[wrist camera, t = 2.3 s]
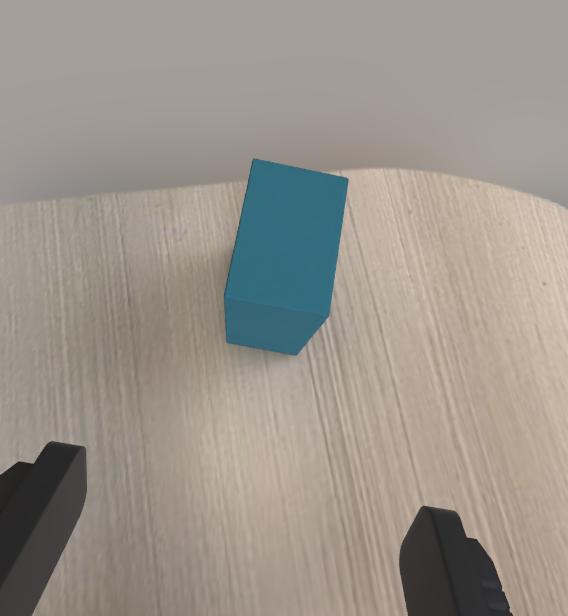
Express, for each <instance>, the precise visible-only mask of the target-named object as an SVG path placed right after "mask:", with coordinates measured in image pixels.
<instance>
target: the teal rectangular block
mask: <svg viewBox="0 0 568 616" xmlns="http://www.w3.org/2000/svg"><path fill="white" fill-rule="evenodd" d="M347 187H348V178H345V177H340V176H335V175H331V174H326V173H321V172H316V171H312V170H307V169H302V168H297V167H292V166H287V165H283V164H278V163H273V162H269V161H264V160H259V159H253V161H252V166H251V170H250V175H249V180H248V185H247V189H246V194H245V199H244V203H243V208H242V213H241V218H240V222H239V227H238V232H237V236H236V241H235V246H234V251H233V255H232V260H231V265H230V270H229V274H228V279H227V284H226V288H225V293H224V305H225V322H226V340H227V343H232V344H237V345H242V346H248V347H253V348H259V349H264V350H270V351H275V352H280V353H286V354H291V355H297V354H298V353H299V352H300V350H301V349H302V348H303V347H304V346H305V344H306V343H307V342H308V341H309V340H310V338H311V337H312V336H313V335H314V333H315V332H316V331H317V330H318V329H319V327H320V326H321V325H322V324H323V323H324V321H325V320H326V319H327V318H328V317H329V313H330V306H331V299H332V292H333V285H334V278H335V271H336V264H337V257H338V250H339V243H340V236H341V229H342V222H343V215H344V208H345V201H346V194H347Z"/></svg>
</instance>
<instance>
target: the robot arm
mask: <svg viewBox="0 0 568 616" xmlns="http://www.w3.org/2000/svg"><path fill="white" fill-rule="evenodd" d="M86 493H87V471H86V448H85V447H83V446H78V445H72V444H66V443H60V442H54V441H51V442H49V443H48V444H47V445H46V446H45V447H44V449H43V450H42V452H41V453H40V455H39V456H38V458H37V459H36V461H35V463H34V464H31V463H25V462H17V463H16V464H15V465H13V466H12V467H11V468H9V469H8V470H6V471H5V472H4V473H2V474H1V475H0V616H32V614H33V612H34V610H35V608H36V606H37V604H38V601H39V599H40V597H41V595H42V593H43V591H44V589H45V587H46V585H47V583H48V581H49V579H50V577H51V575H52V573H53V571H54V569H55V566H56V564H57V562H58V560H59V558H60V556H61V554H62V552H63V550H64V548H65V546H66V544H67V542H68V540H69V538H70V536H71V534H72V531H73V529H74V527H75V525H76V523H77V521H78V519H79V517H80V514H81V512H82V509H83V506H84V503H85V498H86ZM399 566H400V574H401V579H402V585H403V590H404V596H405V601H406V607H407V612H408V616H513V615H512V613H510V611H509V608H510V607H509V604H508V601H507V599H506V596H505V593H504V592H502V585H501V582H500V580H499V577H498V574H497V571H496V569H495V566H494V563H493V561H492V560H491V558H490V557H489V556H488V554H487V553H486V551H485V550H484V549H483V547H482V546H481V544H480V543H479V542H478V540H477V539H473V538H467V537H466V534H465V531H464V528H463V525H462V522H461V519H460V517H459V515H458V514H457V513H456V512H455V511H452V510H446V509H441V508H435V507H429V506H422V507H421V508H420V510H419V512H418V514H417V515H416V517H415V519H414V521H413V523H412V525H411V527H410V529H409V531H408V533H407V535H406V536H405V538H404V540H403V542H402V545H401V549H400V556H399Z"/></svg>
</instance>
